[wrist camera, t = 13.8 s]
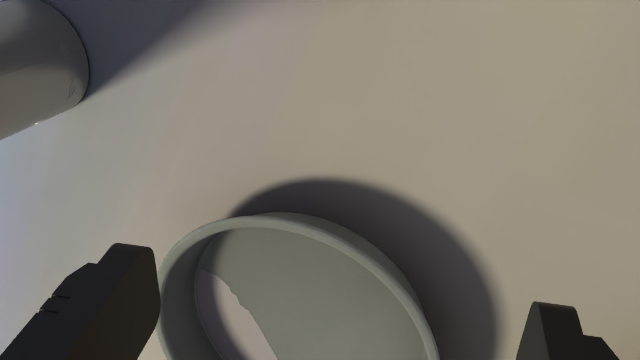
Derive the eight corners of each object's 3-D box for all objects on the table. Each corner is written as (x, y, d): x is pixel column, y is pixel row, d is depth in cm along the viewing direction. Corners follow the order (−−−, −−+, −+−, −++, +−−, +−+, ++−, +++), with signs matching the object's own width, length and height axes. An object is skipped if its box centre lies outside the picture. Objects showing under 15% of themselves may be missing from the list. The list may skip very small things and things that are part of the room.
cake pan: (200, 144, 46) (169, 166, 42) (500, 270, 42) (496, 308, 38) (162, 355, 58) (135, 387, 54) (391, 468, 54) (380, 511, 50)
